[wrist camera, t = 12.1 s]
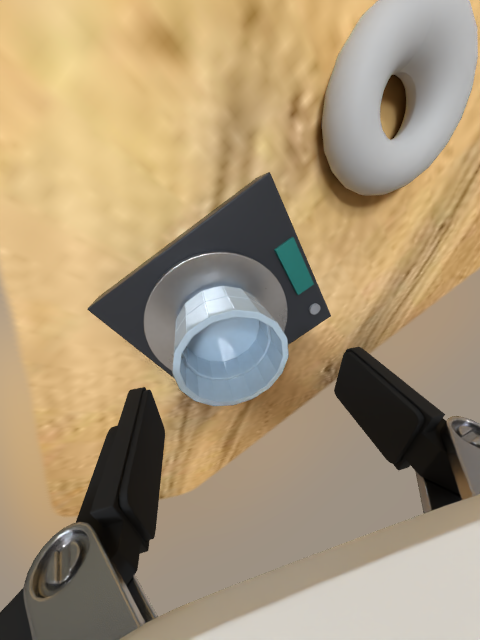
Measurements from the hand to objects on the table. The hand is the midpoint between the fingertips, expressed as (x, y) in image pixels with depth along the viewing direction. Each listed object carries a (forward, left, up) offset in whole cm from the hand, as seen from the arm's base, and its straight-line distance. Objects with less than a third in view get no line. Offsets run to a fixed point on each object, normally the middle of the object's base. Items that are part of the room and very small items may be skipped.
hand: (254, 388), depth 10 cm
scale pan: (+1, 0, -8) cm, 8 cm away
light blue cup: (+1, 0, -7) cm, 7 cm away
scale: (0, 0, -10) cm, 10 cm away
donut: (-17, -5, -11) cm, 21 cm away
